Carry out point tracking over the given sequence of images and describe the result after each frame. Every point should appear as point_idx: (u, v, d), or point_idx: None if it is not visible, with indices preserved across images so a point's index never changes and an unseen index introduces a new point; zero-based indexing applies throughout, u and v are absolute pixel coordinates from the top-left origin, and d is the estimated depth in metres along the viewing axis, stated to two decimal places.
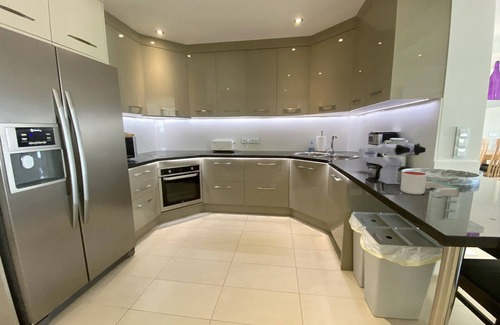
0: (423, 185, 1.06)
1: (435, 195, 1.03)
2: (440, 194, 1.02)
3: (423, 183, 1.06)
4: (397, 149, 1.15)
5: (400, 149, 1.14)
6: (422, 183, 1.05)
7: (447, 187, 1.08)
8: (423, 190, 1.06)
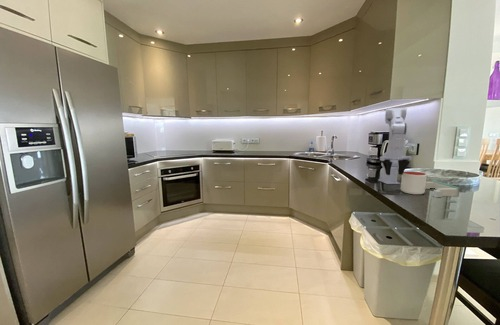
0: (423, 185, 1.06)
1: (435, 195, 1.03)
2: (440, 194, 1.02)
3: (423, 183, 1.06)
4: (385, 162, 1.09)
5: None
6: (422, 183, 1.05)
7: (447, 187, 1.08)
8: (423, 190, 1.06)
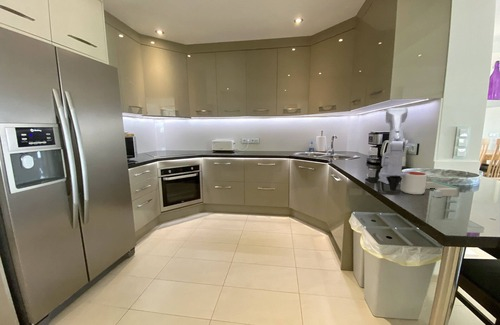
0: (423, 185, 1.06)
1: (435, 195, 1.03)
2: (440, 194, 1.02)
3: (423, 183, 1.06)
4: (390, 178, 1.10)
5: None
6: (422, 183, 1.05)
7: (447, 187, 1.08)
8: (423, 190, 1.06)
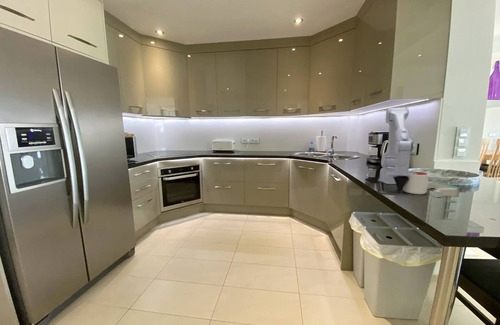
0: (425, 185, 1.06)
1: (435, 195, 1.03)
2: (440, 194, 1.02)
3: (425, 183, 1.06)
4: (397, 178, 1.10)
5: None
6: (425, 183, 1.05)
7: (447, 187, 1.08)
8: (425, 190, 1.06)
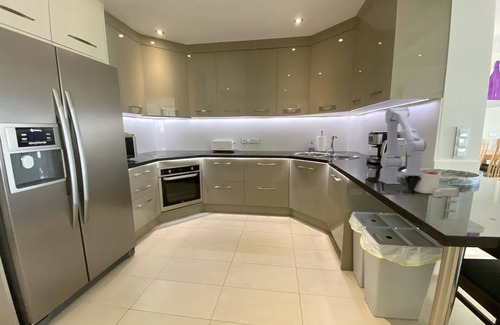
0: (437, 184, 1.06)
1: (435, 195, 1.03)
2: (440, 194, 1.02)
3: (437, 182, 1.06)
4: (408, 178, 1.10)
5: None
6: (437, 182, 1.06)
7: (447, 187, 1.08)
8: None
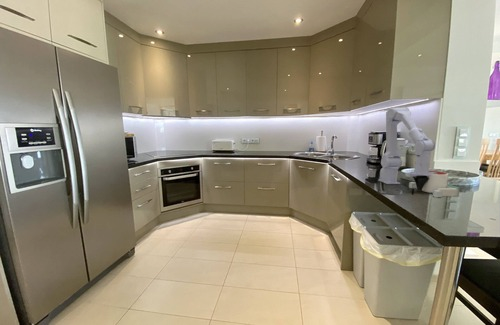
0: (445, 184, 1.06)
1: (435, 195, 1.03)
2: (440, 194, 1.02)
3: (445, 182, 1.06)
4: (417, 178, 1.10)
5: None
6: (445, 182, 1.06)
7: (447, 187, 1.08)
8: None
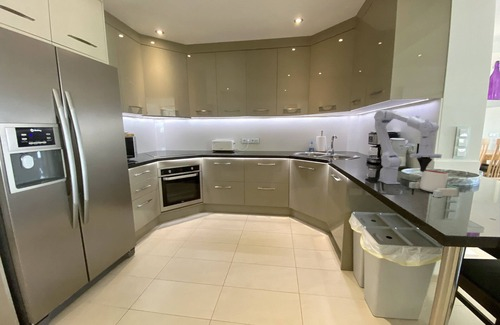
0: (444, 184, 1.07)
1: (435, 195, 1.03)
2: (440, 194, 1.02)
3: (444, 182, 1.06)
4: (421, 159, 1.12)
5: None
6: (444, 181, 1.06)
7: (447, 187, 1.08)
8: None
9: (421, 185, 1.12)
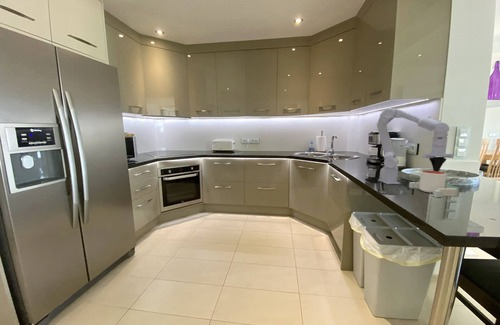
0: (443, 184, 1.07)
1: (435, 195, 1.03)
2: (440, 194, 1.02)
3: (443, 182, 1.06)
4: None
5: None
6: (442, 182, 1.06)
7: (447, 187, 1.08)
8: None
9: (420, 186, 1.12)
